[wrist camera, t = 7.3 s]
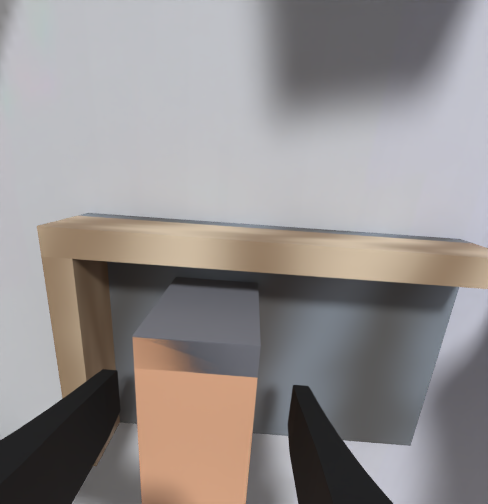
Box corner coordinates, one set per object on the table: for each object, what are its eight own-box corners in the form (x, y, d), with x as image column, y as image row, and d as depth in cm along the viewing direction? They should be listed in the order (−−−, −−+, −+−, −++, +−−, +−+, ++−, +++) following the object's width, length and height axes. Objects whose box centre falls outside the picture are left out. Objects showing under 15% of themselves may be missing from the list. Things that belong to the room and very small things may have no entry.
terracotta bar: (246, 414, 16) (244, 523, 11) (176, 409, 16) (142, 513, 11) (258, 282, 13) (260, 345, 9) (175, 276, 13) (132, 335, 9)
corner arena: (459, 239, 13) (524, 260, 10) (403, 432, 17) (438, 494, 13) (87, 213, 13) (36, 226, 10) (106, 409, 17) (72, 464, 14)
